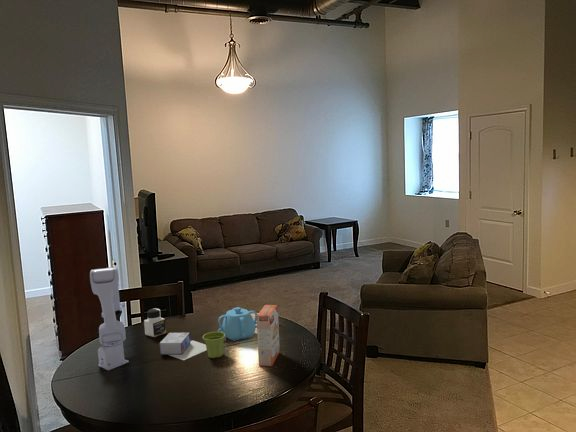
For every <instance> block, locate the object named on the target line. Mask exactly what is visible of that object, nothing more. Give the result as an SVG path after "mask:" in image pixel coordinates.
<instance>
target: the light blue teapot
mask: <svg viewBox="0 0 576 432" xmlns="http://www.w3.org/2000/svg"><path fill="white" fill-rule="evenodd" d="M252 314H255V315H254V318H253V316H252ZM257 315H258V312H257V311H255V310H252V309H251V310H248V309H247V308H246V309H245V308H242V307H239V306H237V307H234V308H232V309H229V310H228V311H226V313H225V314H222V315H221V316H219V317H218V320H217V322H218V325H219V328H218V330H217V332H223V333H225V337H226V338H227V339H228V340H231V341H232V342H236V341H238V340H243V339H250V338H252V337H253V336H254V334H255V332H256V329H257ZM222 319H223V321H222V322H221V320H222Z"/></svg>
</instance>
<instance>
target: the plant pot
mask: <svg viewBox="0 0 576 432" xmlns="http://www.w3.org/2000/svg"><path fill="white" fill-rule="evenodd" d="M225 337H226V336H225V333H223V332H222V331H220V332H218V331H210V332H207V333H205V334H203V336H202V340H203V341H204V344H205V345H206V349H207V351H206V352H207V356H208V358H209V359H216V358H220V357H222V356H223V354H224V340H225Z"/></svg>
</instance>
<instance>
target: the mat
mask: <svg viewBox="0 0 576 432" xmlns="http://www.w3.org/2000/svg"><path fill="white" fill-rule="evenodd" d="M204 352H207V349H206V344H205V343H202V342H199V341H196V340H194V339H193V340H192V339H191V340H190V344H189V346H188V347H187V348H186V350H185V351H184V353H183V354H166V355H168V356H170V357H173V358H176V359H178V360H180V361H187V360H189V359H190V358H194V357H196V356H197V355H198V356H199V355H200V354H202V353H204Z"/></svg>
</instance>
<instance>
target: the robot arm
mask: <svg viewBox="0 0 576 432" xmlns="http://www.w3.org/2000/svg"><path fill="white" fill-rule="evenodd" d="M89 271H90V272H89V282H90V286H91V291H92V293H93V295H96V296H98V299H99V302H100V304H101V305H100V306H101V311H102V312H101V318H103V321H104V322H103V323H101V324H100V325H99V327H98V334H99V335H98V337H99V339H98V340H99V343H100V344H101V346H100V347H99V348H98V349H97V355H98V356H97V359H98V367H100V368H103V369H104V370H106V371H110V370H114V369H115V368H118V367H120V366H123V365H125V364H128V363H129V362H130V361H129V360H128V359H126V358H125V352H124V342H125V340H126V335H127V334H126V327H125V324H124V322H122V321H120V318H121V316H122V314H123V308H125V307H126V305H125V302H124V301H123V302H122V301H121V302H120V291H119V289H120V288H119V285H120V284H119V283H120V281H119V280H120V279H119V278H120V277H119V270H118V267H116V266H115V267H106V268H95V269H91V270H89Z"/></svg>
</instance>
